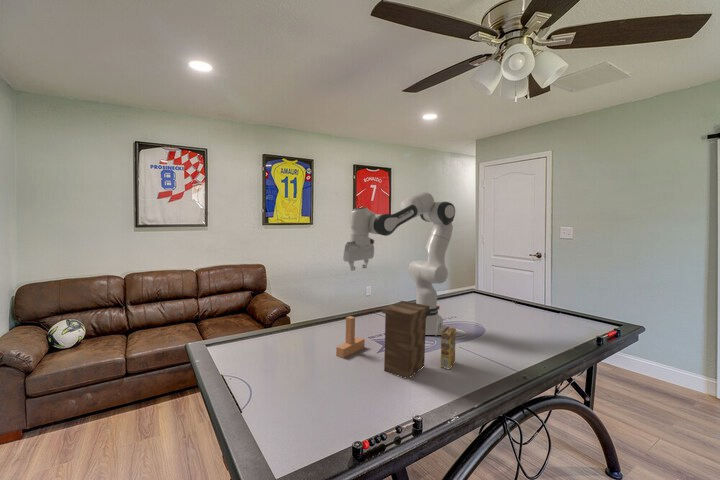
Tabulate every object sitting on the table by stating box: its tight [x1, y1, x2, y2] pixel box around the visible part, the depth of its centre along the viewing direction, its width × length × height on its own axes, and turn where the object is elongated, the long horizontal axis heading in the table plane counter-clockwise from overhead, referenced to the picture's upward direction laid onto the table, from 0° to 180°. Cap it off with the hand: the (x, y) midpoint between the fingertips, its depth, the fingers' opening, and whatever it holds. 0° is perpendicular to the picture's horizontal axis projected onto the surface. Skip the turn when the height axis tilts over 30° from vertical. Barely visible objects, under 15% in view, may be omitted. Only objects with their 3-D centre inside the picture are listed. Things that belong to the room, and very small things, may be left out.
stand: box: [381, 300, 429, 379], centre depth 138 cm, size 16×13×26 cm
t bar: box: [335, 315, 366, 359], centre depth 155 cm, size 16×16×4 cm
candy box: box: [440, 326, 457, 369], centre depth 143 cm, size 9×4×15 cm, turn 150°
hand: (358, 269), depth 162 cm, fingers open, 8 cm apart
